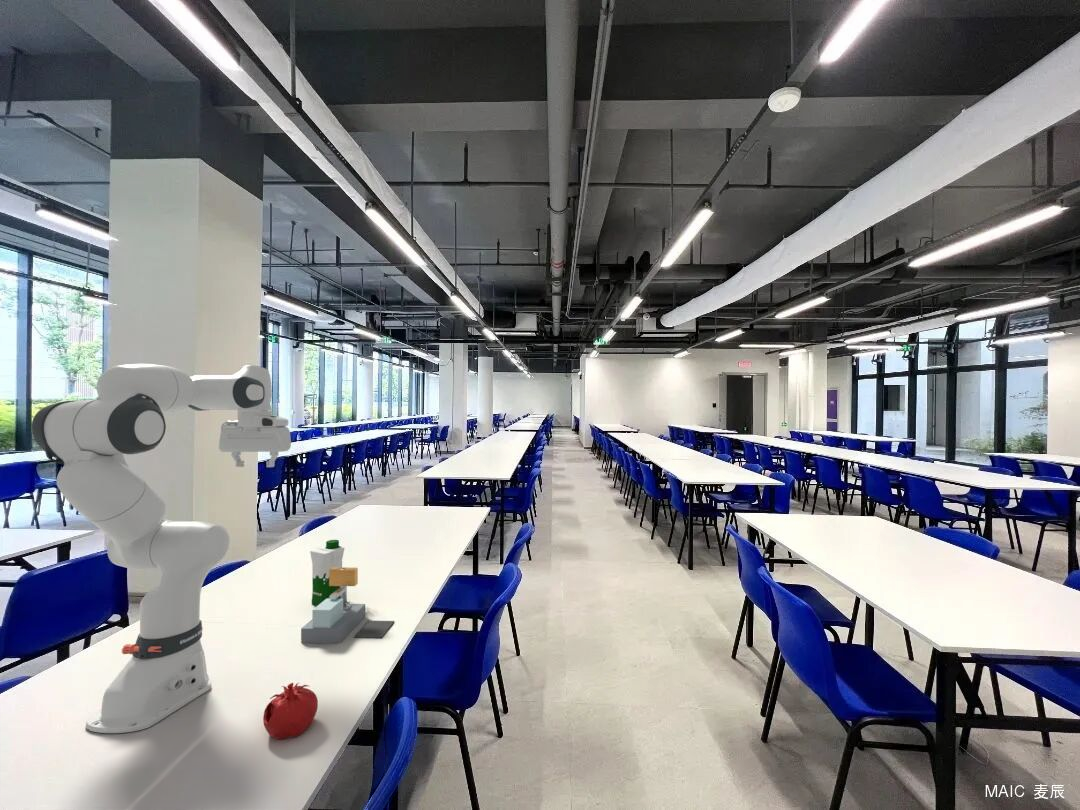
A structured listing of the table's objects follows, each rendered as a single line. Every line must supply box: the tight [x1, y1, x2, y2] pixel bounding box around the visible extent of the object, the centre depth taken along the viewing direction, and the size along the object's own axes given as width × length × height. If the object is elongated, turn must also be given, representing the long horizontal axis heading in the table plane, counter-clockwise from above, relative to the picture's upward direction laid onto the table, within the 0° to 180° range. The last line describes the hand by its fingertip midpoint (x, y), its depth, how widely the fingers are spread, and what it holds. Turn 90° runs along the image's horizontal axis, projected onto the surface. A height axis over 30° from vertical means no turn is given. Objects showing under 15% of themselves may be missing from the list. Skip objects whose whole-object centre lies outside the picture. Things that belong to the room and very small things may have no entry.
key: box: [329, 566, 359, 608], centre depth 144 cm, size 8×8×12 cm
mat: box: [353, 620, 395, 639], centre depth 140 cm, size 10×8×1 cm
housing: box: [300, 602, 366, 644], centre depth 141 cm, size 17×11×4 cm, turn 177°
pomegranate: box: [262, 682, 319, 740], centre depth 98 cm, size 10×10×9 cm
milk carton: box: [309, 539, 345, 607], centre depth 161 cm, size 9×9×20 cm
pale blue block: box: [311, 598, 343, 628], centre depth 137 cm, size 8×5×5 cm, turn 177°
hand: (255, 466), depth 142 cm, fingers open, 8 cm apart
